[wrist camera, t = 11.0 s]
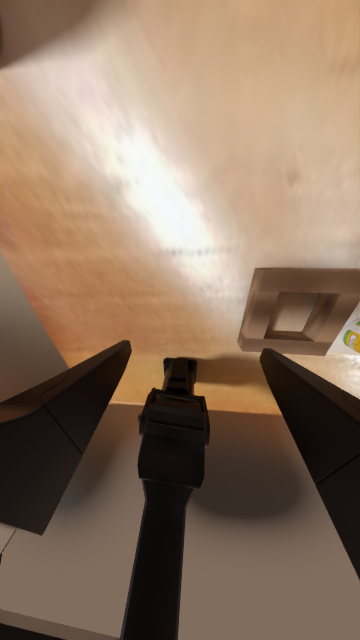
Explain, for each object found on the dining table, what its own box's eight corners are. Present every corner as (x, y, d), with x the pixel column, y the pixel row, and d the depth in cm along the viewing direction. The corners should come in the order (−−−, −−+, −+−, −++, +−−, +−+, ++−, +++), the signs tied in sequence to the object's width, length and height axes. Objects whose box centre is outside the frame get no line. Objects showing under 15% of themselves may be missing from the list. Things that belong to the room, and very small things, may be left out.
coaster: (370, 353, 22) (375, 356, 21) (311, 350, 23) (314, 352, 22) (414, 301, 18) (421, 303, 17) (341, 299, 18) (345, 301, 18)
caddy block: (311, 345, 22) (324, 356, 20) (237, 341, 23) (242, 351, 21) (354, 269, 17) (379, 271, 14) (255, 268, 18) (264, 270, 15)
